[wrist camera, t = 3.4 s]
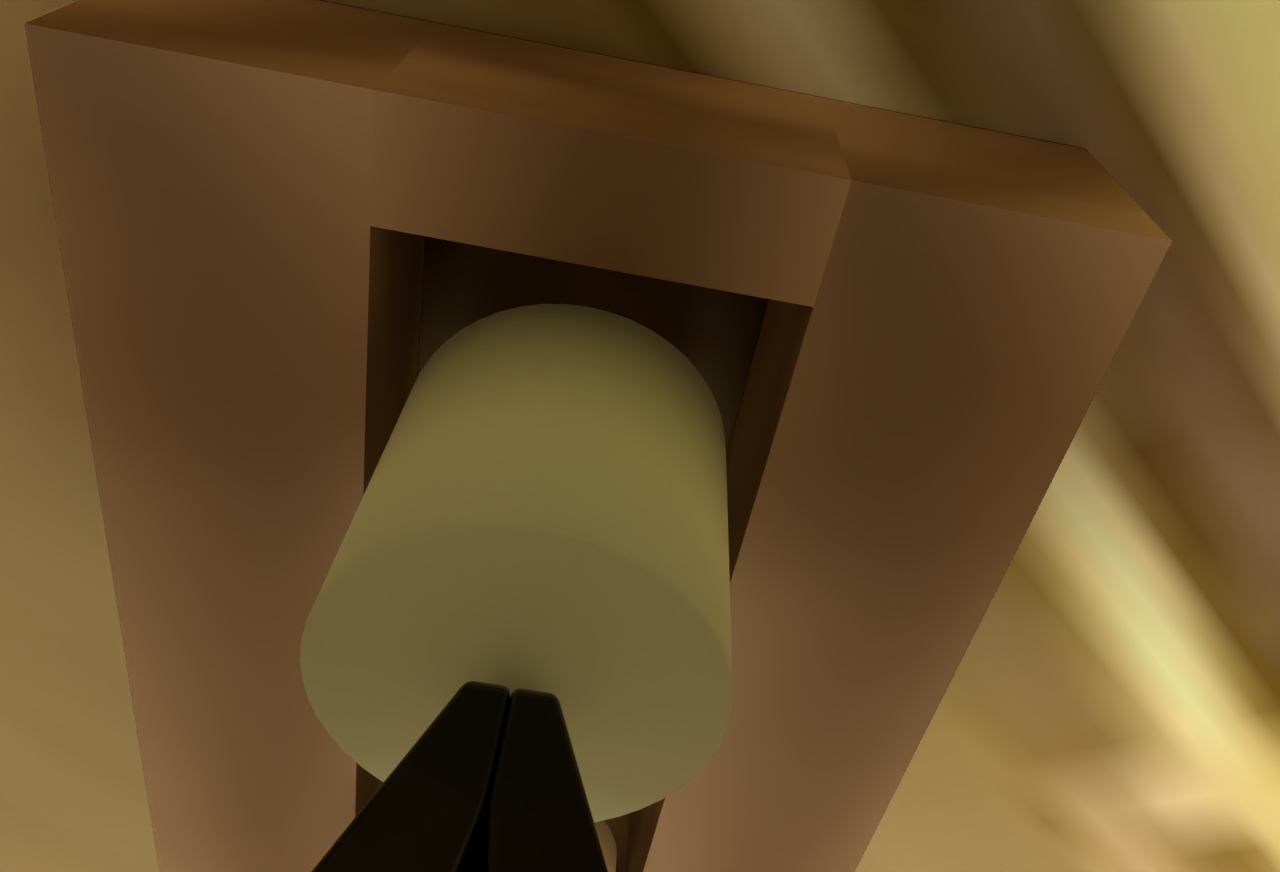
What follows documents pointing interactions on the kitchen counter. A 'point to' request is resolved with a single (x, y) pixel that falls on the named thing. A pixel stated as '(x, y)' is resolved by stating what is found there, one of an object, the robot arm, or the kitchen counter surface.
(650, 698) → the green button
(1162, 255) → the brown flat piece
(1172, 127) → the kitchen counter surface
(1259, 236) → the kitchen counter surface
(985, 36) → the kitchen counter surface
